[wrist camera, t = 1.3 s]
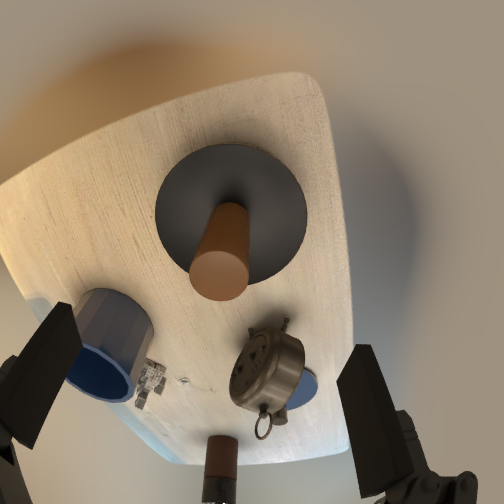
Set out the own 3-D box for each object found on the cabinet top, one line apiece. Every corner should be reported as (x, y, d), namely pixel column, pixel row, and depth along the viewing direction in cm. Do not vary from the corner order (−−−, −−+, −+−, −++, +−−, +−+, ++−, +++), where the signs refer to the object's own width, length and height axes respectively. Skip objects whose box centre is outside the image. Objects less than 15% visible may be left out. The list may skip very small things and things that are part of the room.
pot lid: (223, 373, 44) (220, 409, 37) (305, 352, 41) (312, 390, 35) (254, 412, 49) (254, 443, 43) (323, 396, 47) (329, 428, 41)
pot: (66, 300, 37) (33, 345, 28) (122, 277, 35) (88, 330, 26) (111, 356, 43) (90, 403, 34) (169, 343, 41) (153, 400, 31)
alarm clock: (256, 362, 42) (256, 457, 28) (225, 349, 41) (216, 447, 26) (301, 317, 38) (320, 422, 24) (268, 300, 37) (274, 410, 22)
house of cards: (169, 399, 48) (161, 432, 41) (128, 379, 46) (117, 412, 39) (192, 380, 45) (185, 417, 38) (146, 357, 42) (134, 394, 36)
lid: (134, 180, 25) (77, 221, 15) (274, 119, 22) (289, 123, 13) (197, 295, 30) (179, 369, 21) (322, 254, 28) (350, 322, 19)
